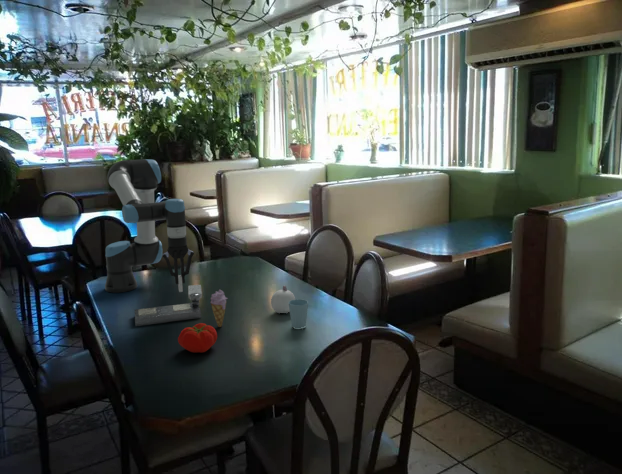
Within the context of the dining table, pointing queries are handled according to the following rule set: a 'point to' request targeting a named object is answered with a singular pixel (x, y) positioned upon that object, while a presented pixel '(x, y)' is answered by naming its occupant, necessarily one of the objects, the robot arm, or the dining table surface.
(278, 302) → the ornament
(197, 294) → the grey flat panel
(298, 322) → the cup
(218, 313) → the ice cream cone
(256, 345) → the dining table surface
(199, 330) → the tomato
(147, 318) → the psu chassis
